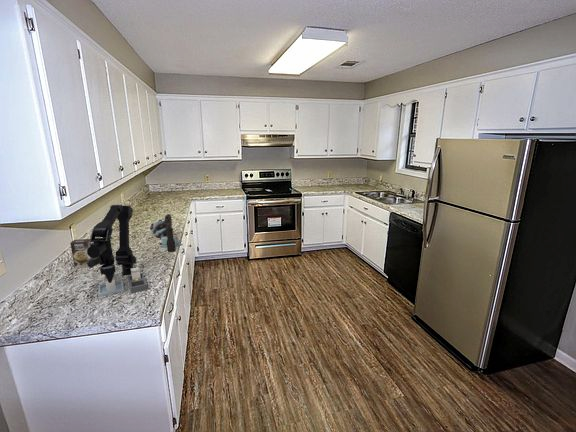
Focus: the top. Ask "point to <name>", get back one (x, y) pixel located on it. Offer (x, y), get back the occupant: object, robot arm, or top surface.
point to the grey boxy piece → (137, 281)
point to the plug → (110, 284)
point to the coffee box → (80, 252)
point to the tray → (103, 291)
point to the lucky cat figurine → (158, 228)
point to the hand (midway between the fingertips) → (109, 279)
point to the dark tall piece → (169, 236)
